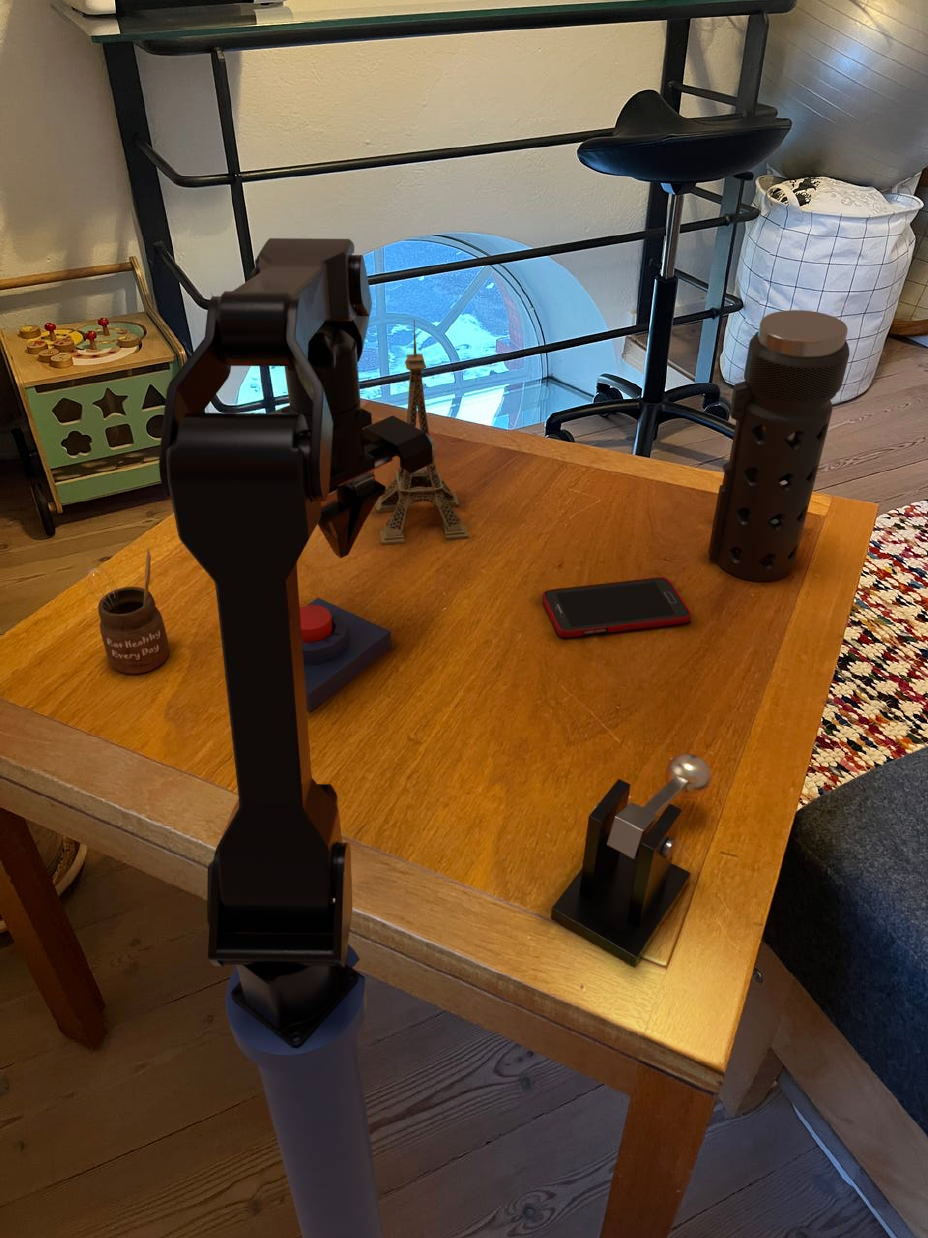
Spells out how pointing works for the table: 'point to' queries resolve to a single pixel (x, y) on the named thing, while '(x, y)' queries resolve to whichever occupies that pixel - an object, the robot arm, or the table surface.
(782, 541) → the water bottle
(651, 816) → the lever
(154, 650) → the utensil holder
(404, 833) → the table surface
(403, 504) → the eiffel tower
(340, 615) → the control box
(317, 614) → the button
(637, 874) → the bracket
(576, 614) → the cell phone
